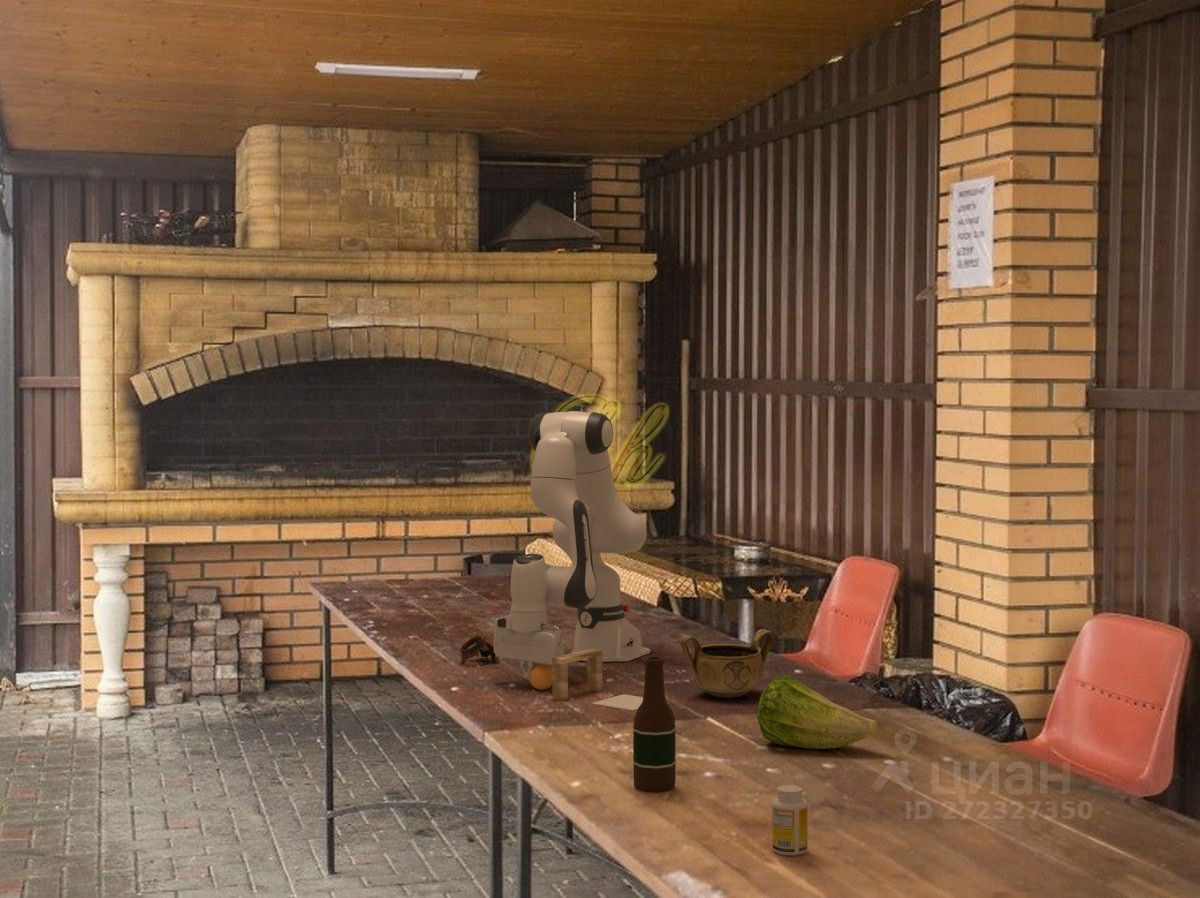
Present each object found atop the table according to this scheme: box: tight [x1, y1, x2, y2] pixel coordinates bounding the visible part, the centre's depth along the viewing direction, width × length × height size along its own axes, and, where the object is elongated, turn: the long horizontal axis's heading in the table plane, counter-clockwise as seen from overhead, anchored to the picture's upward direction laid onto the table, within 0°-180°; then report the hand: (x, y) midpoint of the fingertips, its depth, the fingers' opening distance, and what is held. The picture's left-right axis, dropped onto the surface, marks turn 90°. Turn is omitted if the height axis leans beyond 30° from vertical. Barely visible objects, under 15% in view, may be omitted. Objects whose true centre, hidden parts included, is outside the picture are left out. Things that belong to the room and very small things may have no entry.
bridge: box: [551, 649, 604, 702], centre depth 372 cm, size 3×15×10 cm, turn 142°
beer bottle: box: [632, 656, 677, 793], centre depth 290 cm, size 8×8×24 cm
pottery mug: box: [459, 634, 501, 665], centre depth 414 cm, size 12×10×8 cm
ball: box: [529, 664, 552, 691], centre depth 379 cm, size 6×6×6 cm
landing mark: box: [591, 694, 643, 712], centre depth 363 cm, size 12×12×1 cm
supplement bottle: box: [771, 784, 809, 857], centre depth 251 cm, size 6×6×10 cm
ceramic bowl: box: [679, 628, 774, 699], centre depth 370 cm, size 22×17×15 cm
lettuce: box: [756, 674, 878, 750], centre depth 319 cm, size 14×24×15 cm
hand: (528, 679), depth 381 cm, fingers closed
